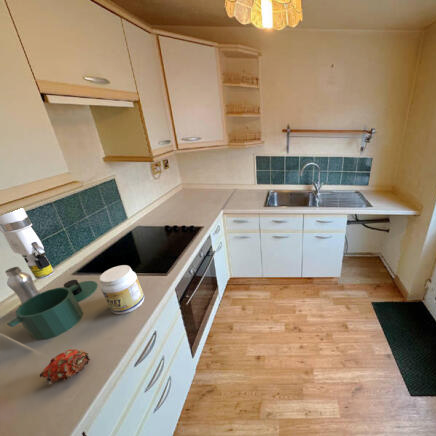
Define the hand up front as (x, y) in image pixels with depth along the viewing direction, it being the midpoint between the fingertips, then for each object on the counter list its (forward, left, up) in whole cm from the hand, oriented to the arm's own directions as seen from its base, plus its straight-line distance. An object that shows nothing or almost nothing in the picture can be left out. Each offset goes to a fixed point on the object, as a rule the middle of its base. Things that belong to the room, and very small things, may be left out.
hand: (39, 265), depth 89 cm
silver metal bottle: (-10, -4, -21) cm, 24 cm away
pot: (+10, -7, -21) cm, 24 cm away
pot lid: (-2, +6, -21) cm, 22 cm away
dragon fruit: (+36, -18, -21) cm, 45 cm away
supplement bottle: (0, 0, -5) cm, 5 cm away
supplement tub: (+27, +9, -21) cm, 35 cm away
